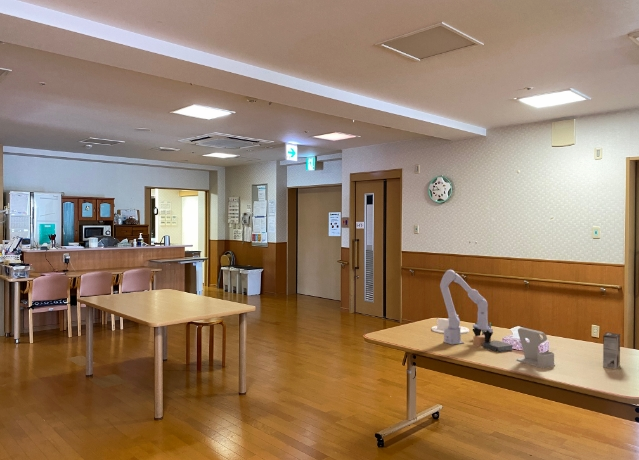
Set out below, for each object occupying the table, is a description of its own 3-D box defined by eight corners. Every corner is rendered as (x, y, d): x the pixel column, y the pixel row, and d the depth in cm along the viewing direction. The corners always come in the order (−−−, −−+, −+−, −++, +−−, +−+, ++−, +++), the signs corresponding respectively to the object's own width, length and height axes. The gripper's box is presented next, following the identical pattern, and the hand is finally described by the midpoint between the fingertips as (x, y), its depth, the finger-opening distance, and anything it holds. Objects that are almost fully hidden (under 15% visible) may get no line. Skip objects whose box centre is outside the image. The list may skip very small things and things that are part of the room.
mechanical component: (492, 339, 312) (492, 323, 312) (475, 339, 312) (475, 323, 312) (490, 337, 315) (490, 322, 315) (474, 337, 315) (474, 322, 315)
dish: (473, 329, 342) (473, 312, 341) (463, 336, 320) (463, 318, 320) (438, 325, 355) (438, 309, 354) (426, 332, 333) (426, 315, 333)
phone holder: (556, 365, 254) (556, 330, 254) (543, 368, 250) (543, 332, 249) (528, 357, 270) (528, 324, 269) (515, 360, 265) (515, 326, 265)
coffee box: (606, 363, 258) (606, 332, 258) (620, 365, 254) (620, 333, 254) (602, 367, 251) (602, 335, 251) (617, 369, 247) (617, 337, 247)
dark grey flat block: (498, 352, 280) (498, 347, 280) (482, 347, 291) (482, 342, 291) (512, 350, 285) (512, 345, 285) (497, 345, 296) (497, 340, 296)
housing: (479, 346, 295) (479, 338, 294) (473, 344, 299) (473, 336, 299) (492, 344, 299) (492, 336, 299) (486, 342, 303) (486, 334, 303)
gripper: (496, 320, 294) (496, 343, 294) (479, 316, 307) (479, 338, 307) (487, 322, 291) (487, 345, 291) (470, 317, 304) (470, 339, 304)
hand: (482, 341), depth 299 cm, fingers open, 7 cm apart
